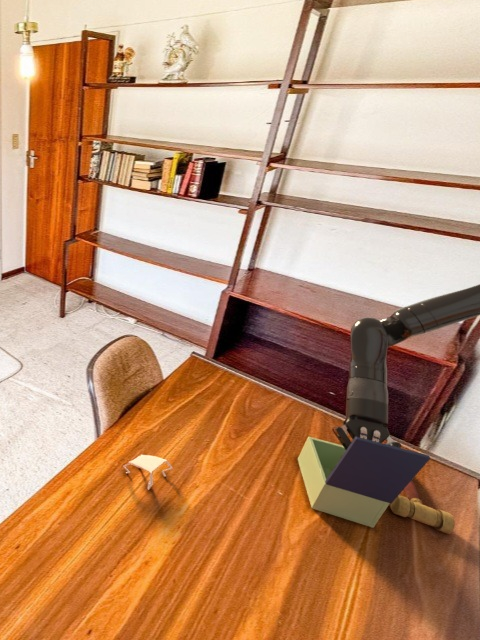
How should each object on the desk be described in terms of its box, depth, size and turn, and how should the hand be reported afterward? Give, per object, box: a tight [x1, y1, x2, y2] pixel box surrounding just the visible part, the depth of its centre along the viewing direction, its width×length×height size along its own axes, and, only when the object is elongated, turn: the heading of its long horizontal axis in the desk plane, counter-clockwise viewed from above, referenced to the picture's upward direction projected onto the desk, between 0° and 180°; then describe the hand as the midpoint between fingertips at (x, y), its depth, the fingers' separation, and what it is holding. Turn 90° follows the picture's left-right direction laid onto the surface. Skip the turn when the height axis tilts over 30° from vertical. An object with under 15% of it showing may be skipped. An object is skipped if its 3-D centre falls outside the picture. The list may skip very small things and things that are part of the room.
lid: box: [325, 437, 431, 505], centre depth 86 cm, size 17×13×1 cm
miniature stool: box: [122, 454, 174, 491], centre depth 102 cm, size 12×8×5 cm
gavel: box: [390, 479, 456, 534], centre depth 101 cm, size 21×5×10 cm
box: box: [297, 436, 391, 529], centre depth 99 cm, size 16×13×9 cm
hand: (364, 477), depth 89 cm, fingers closed
